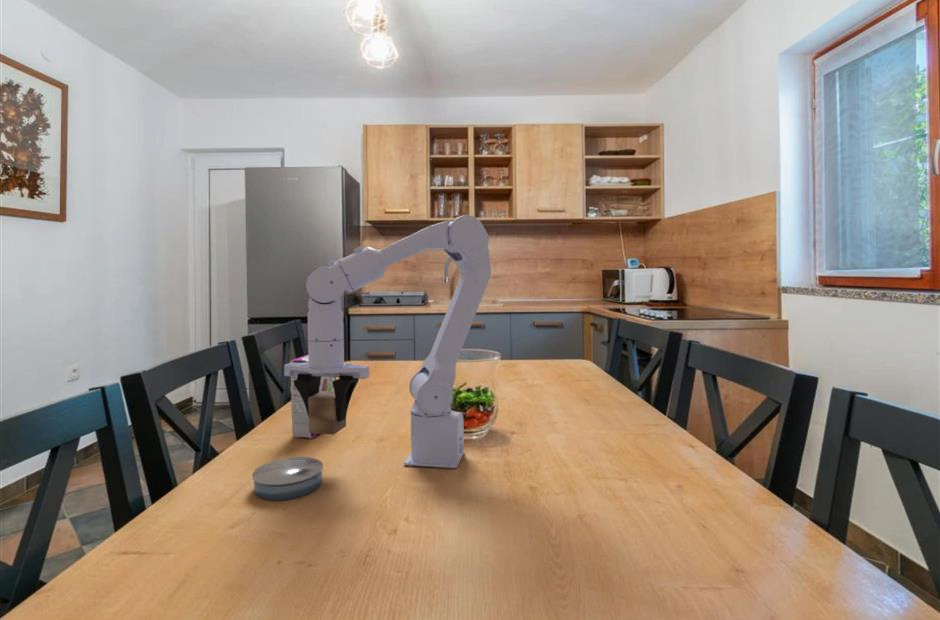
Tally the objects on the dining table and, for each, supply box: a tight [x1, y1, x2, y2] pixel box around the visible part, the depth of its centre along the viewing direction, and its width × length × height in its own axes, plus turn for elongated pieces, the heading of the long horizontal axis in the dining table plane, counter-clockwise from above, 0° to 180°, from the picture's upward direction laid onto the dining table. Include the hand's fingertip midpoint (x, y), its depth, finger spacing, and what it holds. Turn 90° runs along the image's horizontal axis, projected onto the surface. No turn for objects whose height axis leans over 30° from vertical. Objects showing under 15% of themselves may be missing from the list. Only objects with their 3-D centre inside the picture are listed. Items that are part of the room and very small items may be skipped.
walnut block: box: [308, 391, 347, 435], centre depth 80 cm, size 4×4×6 cm
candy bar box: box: [288, 354, 337, 439], centre depth 101 cm, size 11×5×16 cm, turn 168°
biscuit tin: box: [251, 456, 324, 502], centre depth 74 cm, size 10×10×3 cm
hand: (327, 418), depth 80 cm, fingers closed on walnut block, 4 cm apart
